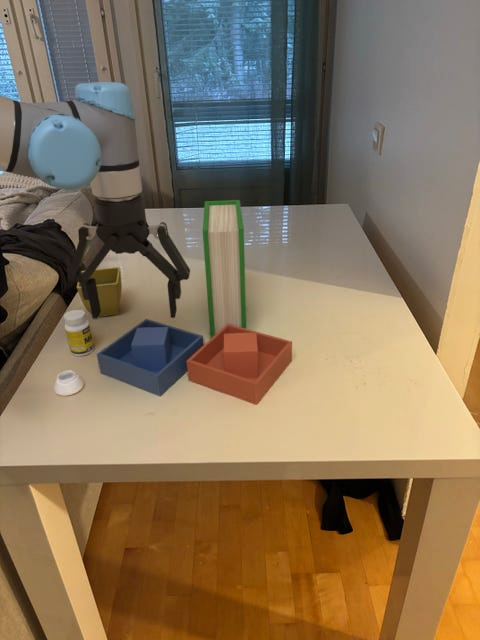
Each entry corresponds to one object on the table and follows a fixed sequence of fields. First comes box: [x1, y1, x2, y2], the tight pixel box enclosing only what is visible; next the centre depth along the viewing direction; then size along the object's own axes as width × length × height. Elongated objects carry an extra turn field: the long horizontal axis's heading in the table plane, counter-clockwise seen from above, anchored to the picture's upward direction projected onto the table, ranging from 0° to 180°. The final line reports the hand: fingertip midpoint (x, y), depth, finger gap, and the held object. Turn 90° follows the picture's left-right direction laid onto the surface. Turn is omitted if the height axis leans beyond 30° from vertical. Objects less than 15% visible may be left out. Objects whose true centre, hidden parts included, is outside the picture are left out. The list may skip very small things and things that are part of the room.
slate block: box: [131, 327, 172, 371], centre depth 88 cm, size 6×6×6 cm
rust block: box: [224, 333, 258, 378], centre depth 86 cm, size 6×6×6 cm
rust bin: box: [187, 324, 293, 406], centre depth 86 cm, size 14×14×4 cm
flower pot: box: [76, 266, 123, 318], centre depth 106 cm, size 9×9×9 cm
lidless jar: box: [53, 369, 85, 397], centre depth 84 cm, size 5×3×5 cm
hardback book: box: [202, 199, 247, 340], centre depth 97 cm, size 18×7×24 cm, turn 3°
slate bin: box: [96, 318, 205, 397], centre depth 89 cm, size 14×14×4 cm
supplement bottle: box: [63, 309, 95, 357], centre depth 93 cm, size 5×5×8 cm
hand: (135, 314), depth 82 cm, fingers open, 13 cm apart
